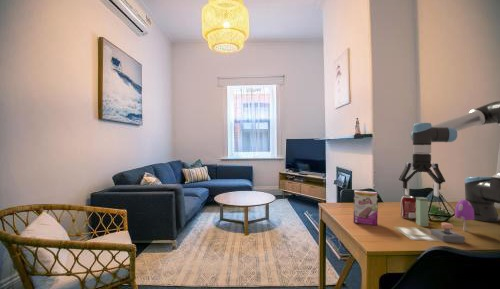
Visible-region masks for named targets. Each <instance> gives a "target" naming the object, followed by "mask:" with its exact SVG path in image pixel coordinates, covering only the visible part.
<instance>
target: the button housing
mask: <svg viewBox="0 0 500 289" xmlns="http://www.w3.org/2000/svg"><path fill="white" fill-rule="evenodd" d="M430 229H431V235H433V236H434V237H436V238H438V239H440V240H441V241H443V243H456V242H458V244H460V243H461V244H463V243H464V244H465V242H466V239H465V238H466V237H465V236H464V235H462V234H460V233H458V232H455V231H454V230H453V229H450V234H445V233H444V228H442V229H440V228H430Z"/></svg>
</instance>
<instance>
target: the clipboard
mask: <svg viewBox="0 0 500 289" xmlns="http://www.w3.org/2000/svg"><path fill="white" fill-rule="evenodd" d="M392 228H393V229H394V230H396V231H398V232H399V233H400V234H402V235H403V236H404V237H406V238H407V239H408V240H410V241H422V242H424V241H425V242H441V243H442V242H443V241H441V240H440V239H438V238H436V237H434V236H433V235H431V229H432V228H427V227H406V226H405V227H403V226H392ZM443 243H444V242H443ZM456 243H458V242H455V244H456ZM458 244H459V243H458Z"/></svg>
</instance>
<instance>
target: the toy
mask: <svg viewBox="0 0 500 289" xmlns="http://www.w3.org/2000/svg"><path fill="white" fill-rule="evenodd" d="M454 217H456V218H458V219H460V220H463V221H462V222H463V223H462V224H463V225H462V226H463V227H462V228H463V229H462V231H463V232H467V221H473V220H475V219H474V210H473V207H472V205H471V204H470V202H469V201H467V200H465V199H461V200H459V201H458V202H457V203H456V206H455V210H454Z"/></svg>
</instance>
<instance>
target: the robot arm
mask: <svg viewBox="0 0 500 289" xmlns="http://www.w3.org/2000/svg"><path fill="white" fill-rule="evenodd" d="M488 124H489V125H490V124H497V126H498V127H500V100H498V101H493V102H490V103H487V104H484V105H482V106H480V107H476V108H474V109H471V110H469V111H468V112H467V113H465V114H462V115H459V116H456V117H453V118H451V119H450V118H449V119H447V120H444V121H442V122H439V123H435V124H433V125H432V123H431V122H416V123H414V124H413V126H412V131H411V134H410V139H411V141H412V153H413V154H412V163H411V162H405V165H404V166H405V167H404V169H403V171H402V172H401V175H400V176H399V177H398V180H399V181H401V182H402V188H403V189H404V195H407V196H410V182H409V181H410V180H411V179H412V178H413V177H414V175H415V174H417V173H427V174H428V175H429V176H430V178H432V180H433V181H434V182H433V196H435V197H437V198H439V197H440V190H442V189H441V187H442V186H441V185H442V184H443V183H446V179H445V177H444V176H443V174H442V171H441V170H440V168H439V164H438V163H435V162H433V163H432V154H431V153H432V143H453V142H455V141H456V140H457V138H458V132H460V131H462V130H465V129H468V128H472V127H474V126H476V127H479V126H482V125H488ZM498 146H499V147H498V155H497V163H496V172H495V174H494V175H492V176H467V177H466V178H465V182H464V194H465V195H464V198H465V199H464V200H467V201H469V202H470V204H471V205H472V207H473V210H474V220H475V221H482V222H487V223H488V222H490V223H495V222H500V215H499V214H498V210H497V209H496V206H495V204H497V205H498V204H499V205H500V144H499V145H498ZM411 168H412V169H411ZM431 168H432V169H433V170H432V169H431ZM410 169H411V170H410ZM433 171H434V172H433Z"/></svg>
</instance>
